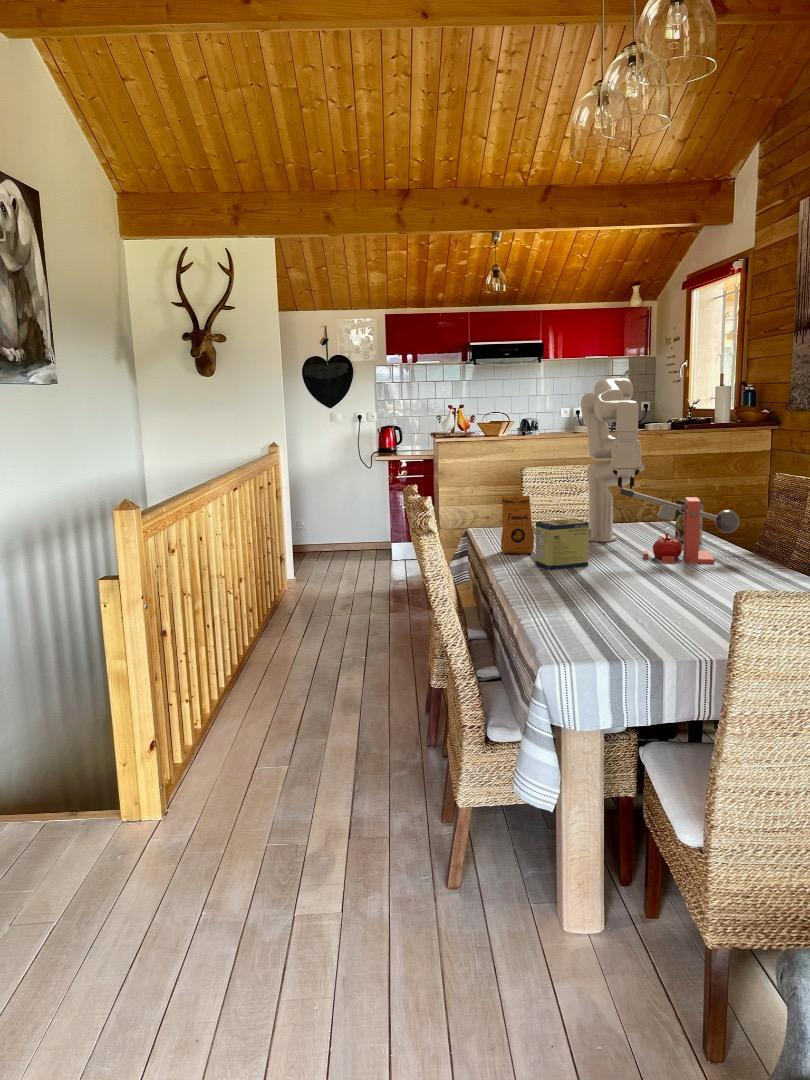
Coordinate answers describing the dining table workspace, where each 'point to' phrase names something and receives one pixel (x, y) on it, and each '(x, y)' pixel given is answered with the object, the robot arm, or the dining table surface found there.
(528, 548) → the coffee package
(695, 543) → the press stand
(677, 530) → the coffee box
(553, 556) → the protein box
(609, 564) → the dining table surface
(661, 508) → the lever
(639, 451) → the robot arm
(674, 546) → the pomegranate
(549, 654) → the dining table surface
